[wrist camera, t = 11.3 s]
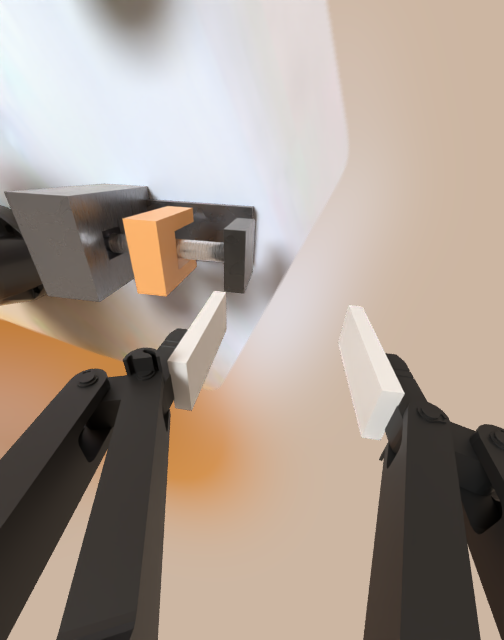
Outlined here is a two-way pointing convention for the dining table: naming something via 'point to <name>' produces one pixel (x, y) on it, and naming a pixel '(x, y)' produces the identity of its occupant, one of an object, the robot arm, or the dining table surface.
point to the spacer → (158, 249)
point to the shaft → (215, 252)
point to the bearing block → (98, 233)
